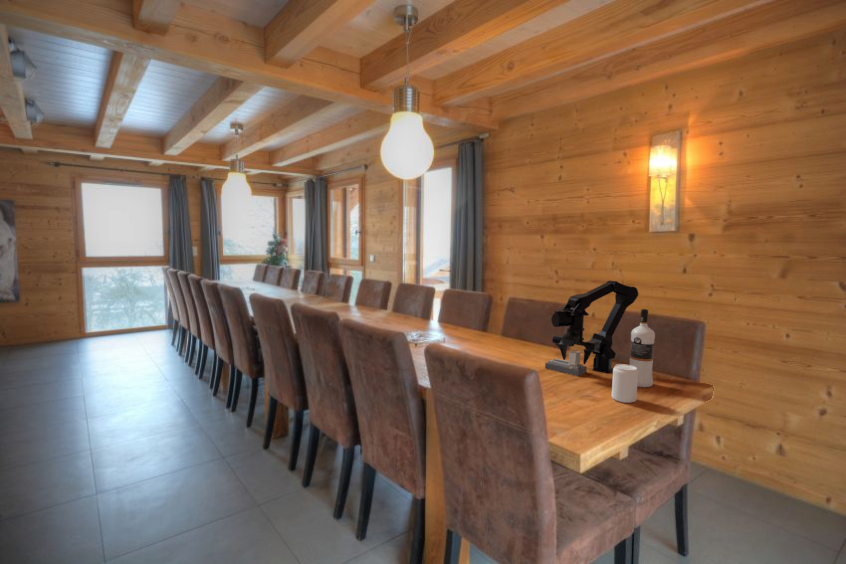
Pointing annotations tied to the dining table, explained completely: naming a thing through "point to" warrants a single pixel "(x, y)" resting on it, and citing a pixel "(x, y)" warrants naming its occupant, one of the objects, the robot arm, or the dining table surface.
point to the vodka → (642, 351)
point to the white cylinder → (624, 383)
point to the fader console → (565, 367)
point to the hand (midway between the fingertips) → (574, 362)
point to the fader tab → (574, 358)
